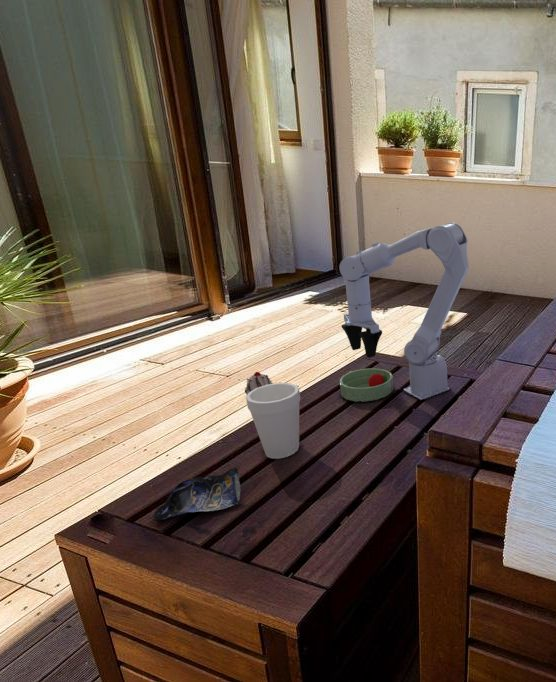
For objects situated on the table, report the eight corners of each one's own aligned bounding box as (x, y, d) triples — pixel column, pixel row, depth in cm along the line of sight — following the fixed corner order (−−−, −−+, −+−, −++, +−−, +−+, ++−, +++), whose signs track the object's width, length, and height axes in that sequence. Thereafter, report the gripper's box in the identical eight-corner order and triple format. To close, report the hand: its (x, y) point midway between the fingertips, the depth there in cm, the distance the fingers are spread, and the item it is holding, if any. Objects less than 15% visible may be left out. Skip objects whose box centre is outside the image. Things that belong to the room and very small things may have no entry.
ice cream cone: (287, 429, 104) (277, 367, 100) (273, 443, 99) (262, 377, 94) (262, 428, 105) (252, 366, 100) (247, 441, 100) (235, 376, 95)
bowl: (376, 377, 132) (375, 364, 131) (403, 392, 123) (402, 378, 122) (332, 391, 123) (330, 377, 122) (357, 408, 115) (355, 393, 113)
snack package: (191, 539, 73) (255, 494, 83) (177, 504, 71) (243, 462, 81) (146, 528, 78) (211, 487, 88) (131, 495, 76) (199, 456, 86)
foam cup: (246, 455, 95) (235, 397, 90) (284, 434, 102) (275, 379, 98) (280, 467, 91) (270, 407, 86) (316, 444, 99) (309, 388, 94)
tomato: (371, 381, 126) (388, 376, 126) (373, 395, 123) (390, 389, 123) (364, 374, 122) (381, 368, 122) (366, 388, 120) (384, 381, 120)
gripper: (331, 300, 122) (336, 349, 126) (359, 311, 112) (364, 363, 117) (355, 296, 127) (360, 343, 131) (385, 306, 117) (388, 357, 121)
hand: (363, 352), depth 124 cm, fingers open, 7 cm apart
